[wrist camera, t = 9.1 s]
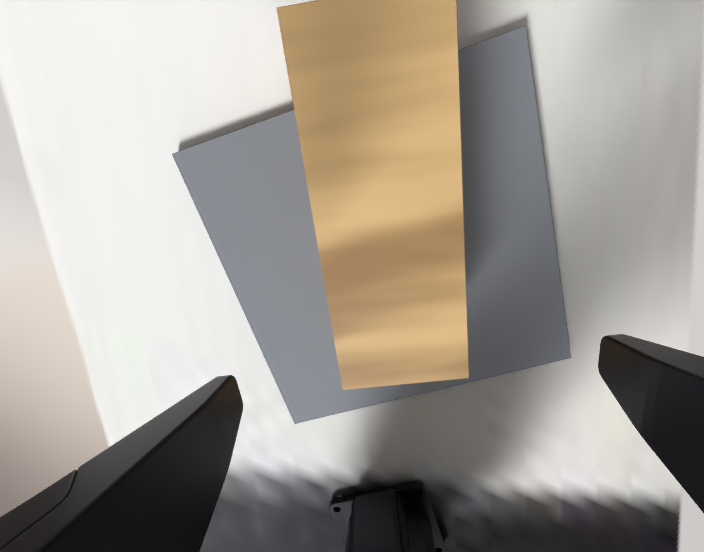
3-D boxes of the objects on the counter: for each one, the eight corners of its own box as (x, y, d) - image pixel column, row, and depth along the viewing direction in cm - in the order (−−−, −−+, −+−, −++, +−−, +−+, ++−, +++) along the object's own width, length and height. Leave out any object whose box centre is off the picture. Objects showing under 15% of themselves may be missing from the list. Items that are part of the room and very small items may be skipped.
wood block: (468, 377, 14) (455, -25, 10) (342, 390, 14) (276, 7, 10) (441, 320, 18) (425, 34, 14) (347, 330, 19) (304, 54, 15)
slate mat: (566, 352, 19) (570, 357, 19) (296, 417, 21) (294, 423, 21) (520, 30, 15) (525, 25, 14) (177, 153, 17) (171, 153, 16)
